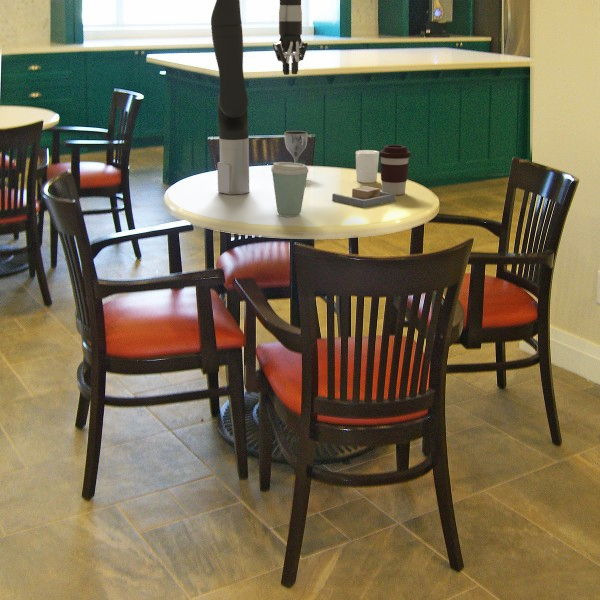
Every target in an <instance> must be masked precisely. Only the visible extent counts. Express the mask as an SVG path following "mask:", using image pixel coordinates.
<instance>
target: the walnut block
mask: <svg viewBox="0 0 600 600" xmlns="http://www.w3.org/2000/svg"><path fill="white" fill-rule="evenodd" d="M380 191H381V189H380V188H377V187H372V186H367V185H364V186H359V187H355V188H352V189H351V194H352V195H351V197H353V198H358V199H362V200H366V199H371V198H376V197H380Z"/></svg>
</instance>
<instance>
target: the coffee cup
mask: <svg viewBox="0 0 600 600" xmlns="http://www.w3.org/2000/svg"><path fill="white" fill-rule="evenodd" d="M378 152H379V158H380V162H379V163H380V180H381V191H382V192H386V193H391V194H396V196H403V195H404V194H406V187H407V181H408V174H409V165H410V164H409V159H410V158H411V155H412V153H411V151H410V150H408V149H407V146H406V145H401V144H389V145H384V147H383V149H381V150H379V151H378Z"/></svg>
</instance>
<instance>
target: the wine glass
mask: <svg viewBox="0 0 600 600" xmlns="http://www.w3.org/2000/svg"><path fill="white" fill-rule="evenodd" d="M307 142H308V132H307V131H305V130H288V131H287V130H286V131H284V144H285V147H286V149H287V151H288V152H289V153H290V155H291V156H292V158H293V163H298V160H299V159H300V156H301V155H302V153H303V152H304V151H305V150H306V147H307V144H308V143H307Z"/></svg>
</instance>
